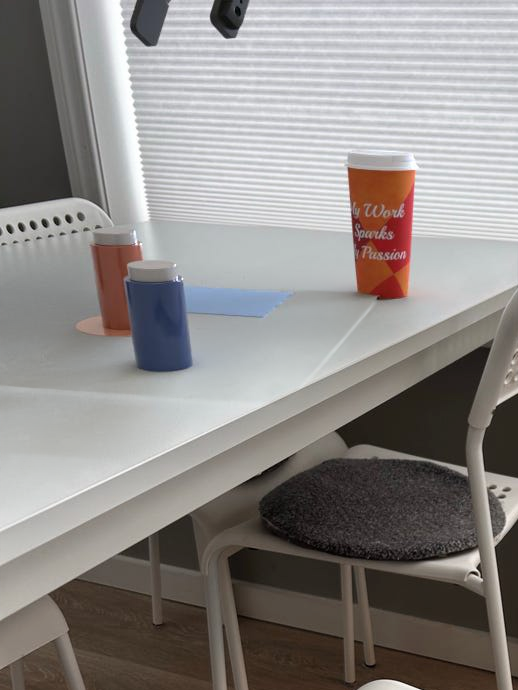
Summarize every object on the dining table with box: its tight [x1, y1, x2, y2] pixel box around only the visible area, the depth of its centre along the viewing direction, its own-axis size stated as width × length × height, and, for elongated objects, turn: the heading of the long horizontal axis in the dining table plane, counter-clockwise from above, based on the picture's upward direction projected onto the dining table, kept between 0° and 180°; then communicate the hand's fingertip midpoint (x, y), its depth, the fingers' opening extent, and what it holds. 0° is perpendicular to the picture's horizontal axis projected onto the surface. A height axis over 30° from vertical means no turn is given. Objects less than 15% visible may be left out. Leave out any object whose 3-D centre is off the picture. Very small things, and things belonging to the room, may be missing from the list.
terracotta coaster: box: [75, 315, 132, 338], centre depth 87 cm, size 9×9×1 cm
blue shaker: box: [123, 259, 194, 373], centre depth 75 cm, size 4×4×8 cm
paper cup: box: [343, 149, 420, 300], centre depth 102 cm, size 8×8×14 cm
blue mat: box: [184, 285, 295, 318], centre depth 97 cm, size 14×12×1 cm
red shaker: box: [88, 227, 145, 330], centre depth 85 cm, size 4×4×8 cm
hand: (181, 35), depth 72 cm, fingers open, 8 cm apart
